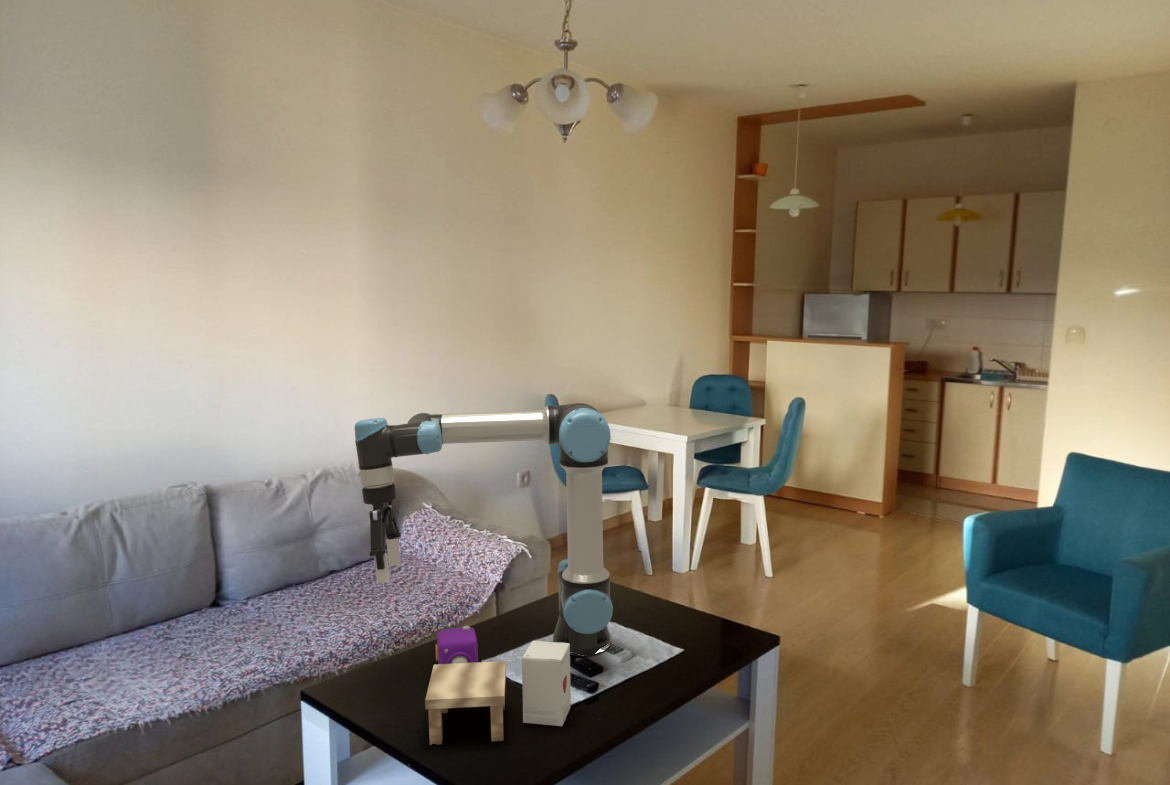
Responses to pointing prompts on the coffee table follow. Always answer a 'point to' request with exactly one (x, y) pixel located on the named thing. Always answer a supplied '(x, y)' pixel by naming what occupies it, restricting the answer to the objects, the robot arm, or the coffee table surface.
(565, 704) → the supplement box
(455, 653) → the toy camera
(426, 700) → the low wooden platform
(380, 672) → the coffee table surface
